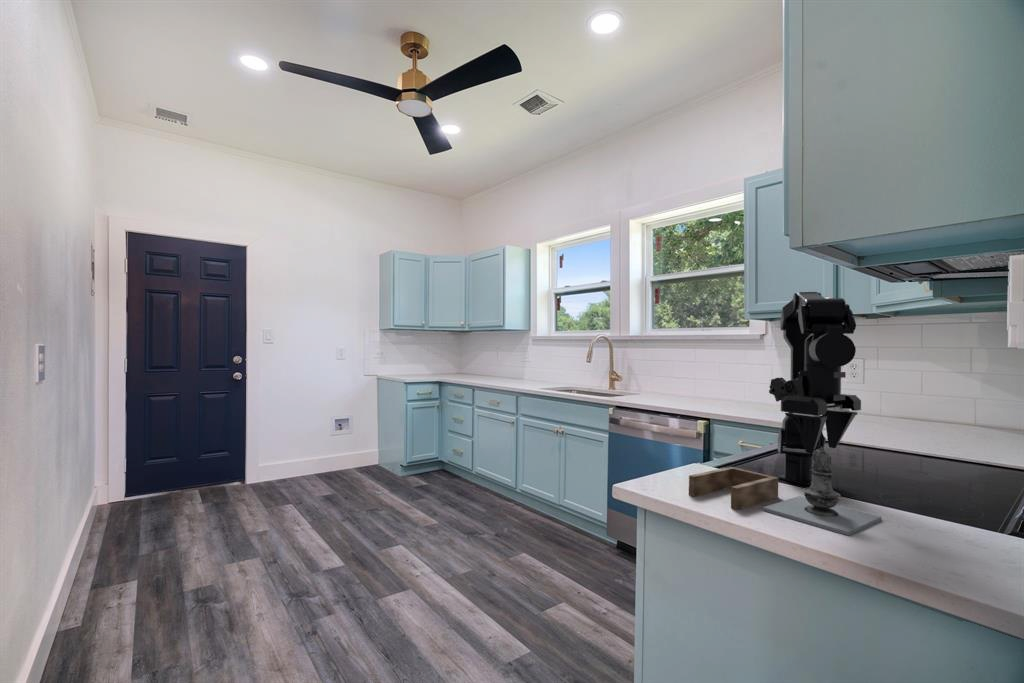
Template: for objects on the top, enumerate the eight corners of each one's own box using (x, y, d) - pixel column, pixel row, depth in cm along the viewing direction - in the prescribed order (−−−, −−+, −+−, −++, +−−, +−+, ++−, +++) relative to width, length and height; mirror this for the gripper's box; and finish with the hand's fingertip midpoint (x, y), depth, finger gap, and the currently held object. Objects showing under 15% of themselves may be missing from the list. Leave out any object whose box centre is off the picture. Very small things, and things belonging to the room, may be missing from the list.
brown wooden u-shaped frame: (730, 484, 107) (730, 466, 107) (778, 497, 98) (778, 477, 98) (688, 494, 98) (689, 475, 98) (736, 509, 90) (737, 488, 90)
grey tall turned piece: (845, 519, 84) (846, 451, 84) (807, 515, 86) (808, 448, 86) (833, 508, 90) (834, 444, 90) (798, 505, 91) (799, 442, 92)
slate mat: (799, 498, 98) (799, 495, 98) (881, 519, 86) (881, 516, 86) (762, 510, 90) (763, 507, 90) (848, 535, 78) (848, 531, 78)
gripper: (800, 364, 100) (799, 438, 100) (752, 364, 90) (751, 447, 90) (862, 366, 91) (861, 448, 91) (817, 366, 81) (816, 459, 80)
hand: (821, 450), depth 88 cm, fingers open, 9 cm apart
